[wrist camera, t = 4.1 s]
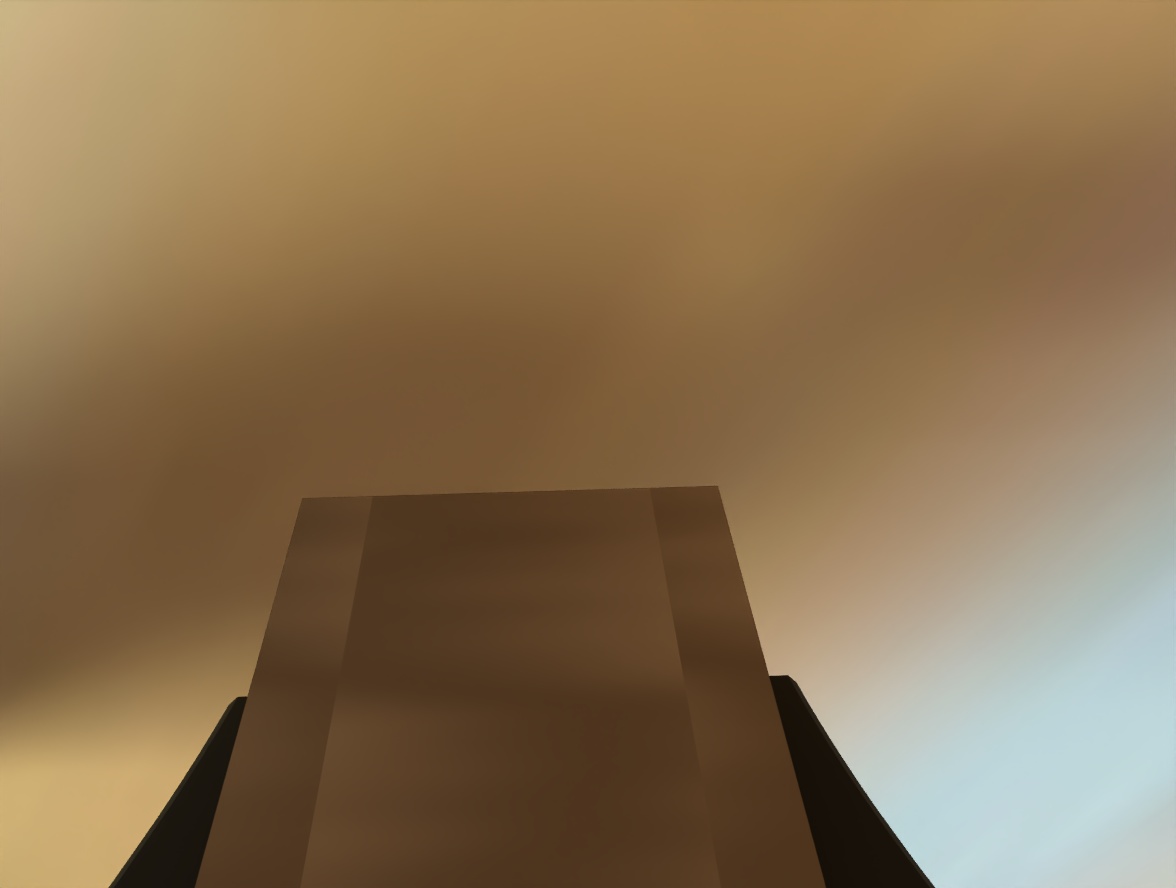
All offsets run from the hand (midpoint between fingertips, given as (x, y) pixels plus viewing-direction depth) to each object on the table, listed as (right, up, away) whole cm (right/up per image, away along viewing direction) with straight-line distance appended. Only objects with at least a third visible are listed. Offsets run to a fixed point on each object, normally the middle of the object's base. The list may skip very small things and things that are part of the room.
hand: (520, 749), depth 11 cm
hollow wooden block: (0, +1, +1) cm, 2 cm away
